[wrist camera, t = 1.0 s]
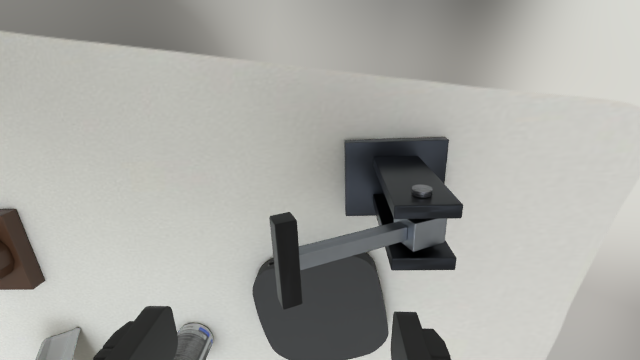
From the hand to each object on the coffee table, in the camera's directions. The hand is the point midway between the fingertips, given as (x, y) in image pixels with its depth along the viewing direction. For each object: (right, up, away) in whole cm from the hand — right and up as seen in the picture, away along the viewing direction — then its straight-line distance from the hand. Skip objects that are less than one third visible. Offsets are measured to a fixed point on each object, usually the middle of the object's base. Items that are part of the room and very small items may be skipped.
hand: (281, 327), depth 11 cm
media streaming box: (+2, -9, +28) cm, 30 cm away
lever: (+4, +2, +11) cm, 12 cm away
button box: (-38, -3, +27) cm, 46 cm away
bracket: (+9, +6, +22) cm, 24 cm away
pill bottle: (-15, -15, +31) cm, 38 cm away
